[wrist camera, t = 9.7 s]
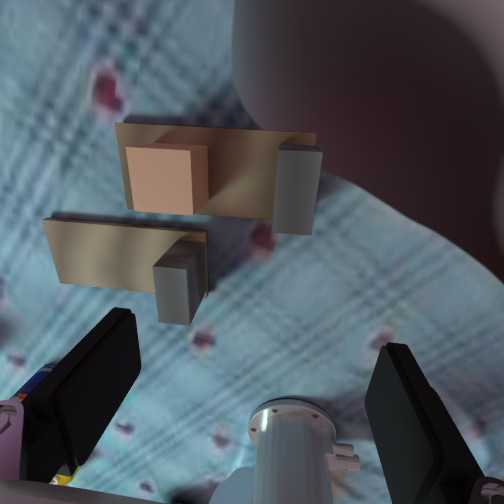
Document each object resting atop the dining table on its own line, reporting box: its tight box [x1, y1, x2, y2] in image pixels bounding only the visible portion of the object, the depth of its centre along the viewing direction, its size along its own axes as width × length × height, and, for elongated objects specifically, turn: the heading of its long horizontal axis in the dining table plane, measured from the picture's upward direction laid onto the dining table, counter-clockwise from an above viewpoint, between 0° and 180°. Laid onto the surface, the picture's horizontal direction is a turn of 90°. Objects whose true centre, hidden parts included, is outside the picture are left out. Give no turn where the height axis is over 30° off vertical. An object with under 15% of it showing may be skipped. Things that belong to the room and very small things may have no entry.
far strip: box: [42, 218, 208, 325], centre depth 29 cm, size 18×8×7 cm, turn 87°
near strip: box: [115, 123, 323, 235], centre depth 24 cm, size 18×8×7 cm, turn 87°
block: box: [126, 143, 209, 216], centre depth 24 cm, size 5×5×5 cm
